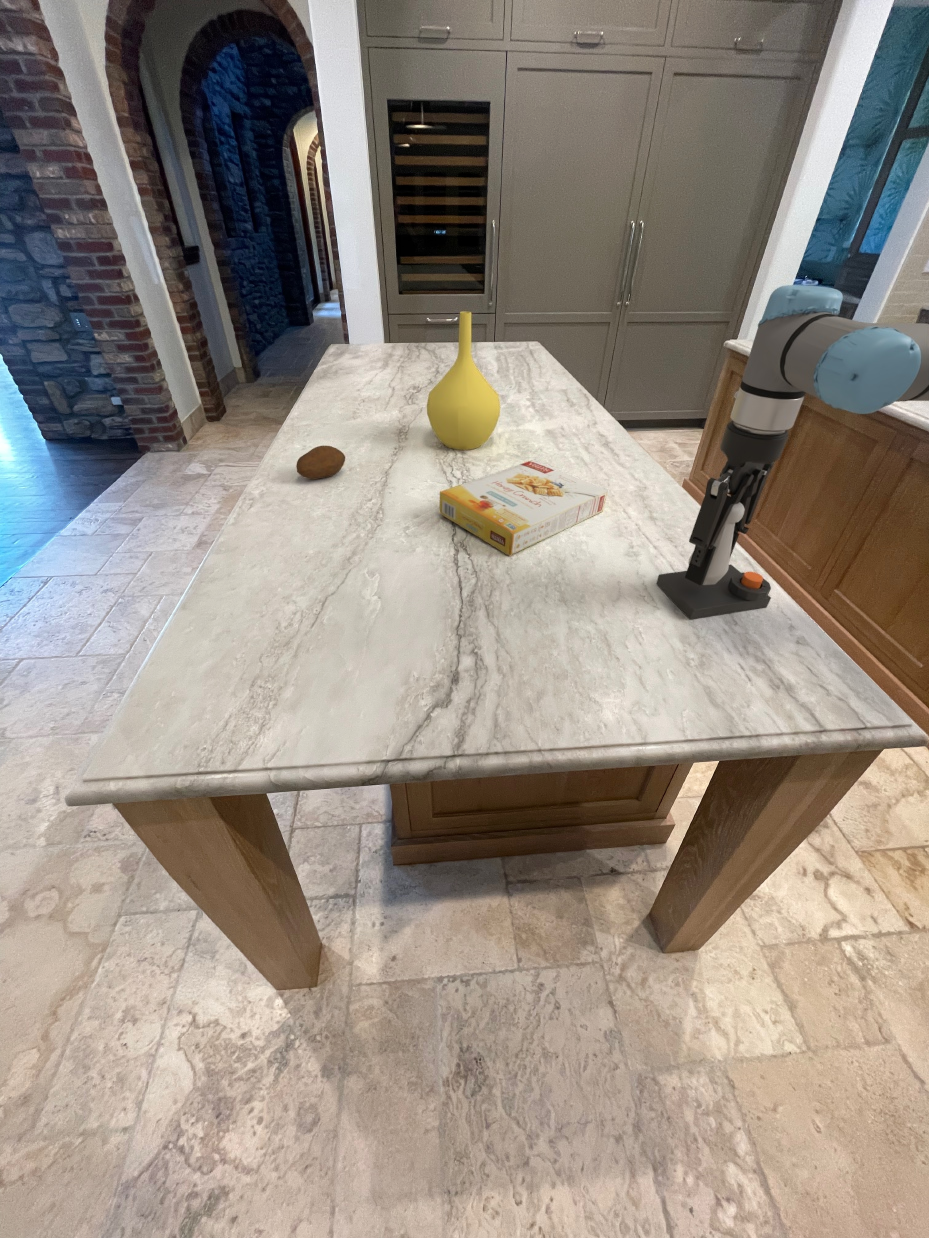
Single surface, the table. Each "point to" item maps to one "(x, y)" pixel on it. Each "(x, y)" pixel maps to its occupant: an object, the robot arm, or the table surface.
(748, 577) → the button
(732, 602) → the scale
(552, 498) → the cereal box
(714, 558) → the salt shaker
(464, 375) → the vase
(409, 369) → the table surface
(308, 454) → the potato
